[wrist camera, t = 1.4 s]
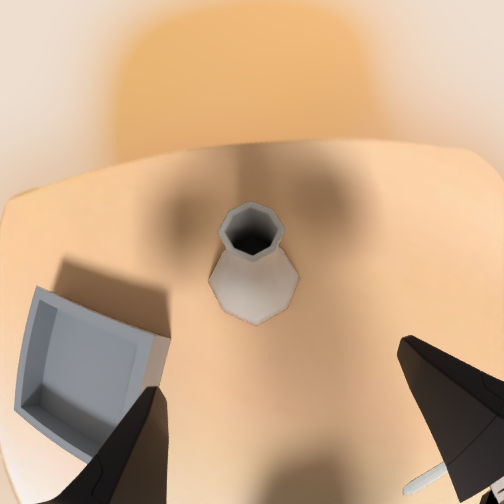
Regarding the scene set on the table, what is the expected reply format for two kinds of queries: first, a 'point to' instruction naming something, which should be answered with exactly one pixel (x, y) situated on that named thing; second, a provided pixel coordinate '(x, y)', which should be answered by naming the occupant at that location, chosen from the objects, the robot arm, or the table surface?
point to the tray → (82, 372)
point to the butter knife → (425, 479)
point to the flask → (253, 265)
